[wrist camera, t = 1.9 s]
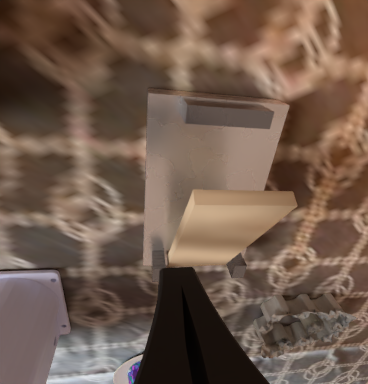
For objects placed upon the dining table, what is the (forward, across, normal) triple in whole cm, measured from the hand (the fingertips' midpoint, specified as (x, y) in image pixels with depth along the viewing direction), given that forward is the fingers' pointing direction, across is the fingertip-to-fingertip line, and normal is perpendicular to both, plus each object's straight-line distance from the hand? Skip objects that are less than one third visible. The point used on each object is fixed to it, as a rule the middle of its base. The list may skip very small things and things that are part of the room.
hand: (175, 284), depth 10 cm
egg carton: (+11, -18, +19) cm, 29 cm away
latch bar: (+6, -3, +2) cm, 7 cm away
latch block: (+11, -3, +1) cm, 11 cm away
